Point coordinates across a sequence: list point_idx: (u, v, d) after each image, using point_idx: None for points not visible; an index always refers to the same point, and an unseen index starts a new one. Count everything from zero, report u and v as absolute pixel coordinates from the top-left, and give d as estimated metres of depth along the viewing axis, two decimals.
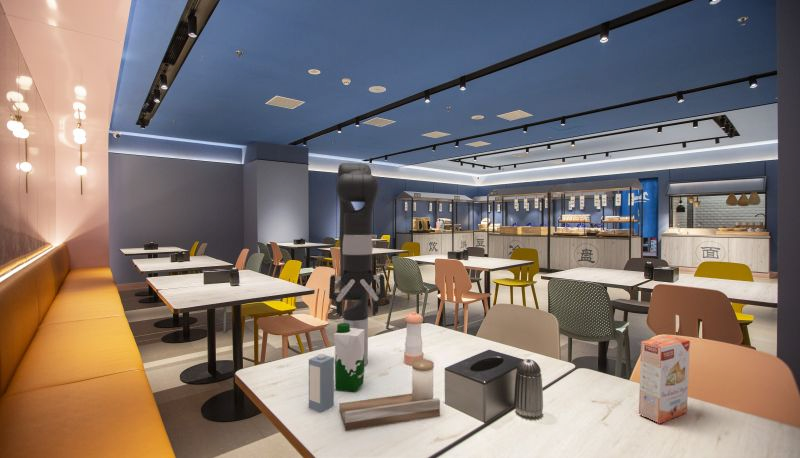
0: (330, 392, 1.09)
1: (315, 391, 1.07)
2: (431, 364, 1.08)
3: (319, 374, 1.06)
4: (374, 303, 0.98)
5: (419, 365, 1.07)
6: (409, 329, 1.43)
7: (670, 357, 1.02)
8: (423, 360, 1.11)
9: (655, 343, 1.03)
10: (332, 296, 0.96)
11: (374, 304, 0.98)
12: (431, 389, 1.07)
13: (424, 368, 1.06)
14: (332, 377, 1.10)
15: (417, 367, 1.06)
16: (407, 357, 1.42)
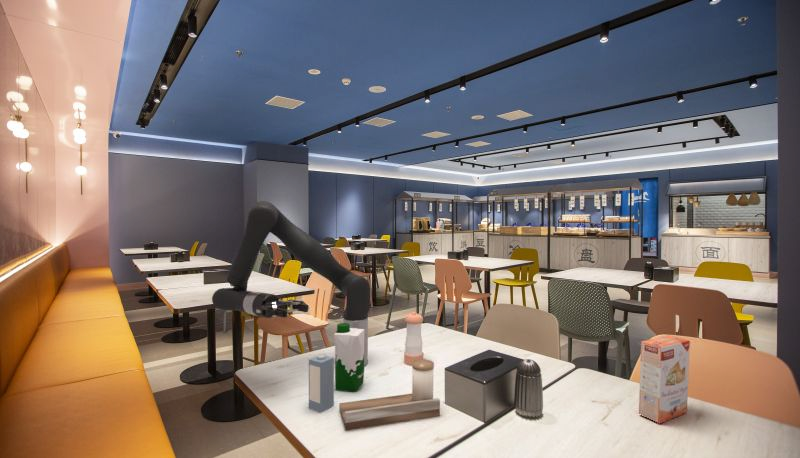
0: (330, 392, 1.09)
1: (315, 391, 1.07)
2: (431, 364, 1.08)
3: (319, 374, 1.06)
4: None
5: (419, 365, 1.07)
6: (409, 329, 1.43)
7: (670, 357, 1.02)
8: (423, 360, 1.11)
9: (655, 343, 1.03)
10: None
11: None
12: (431, 389, 1.07)
13: (424, 368, 1.06)
14: (332, 377, 1.10)
15: (417, 367, 1.06)
16: (407, 357, 1.42)
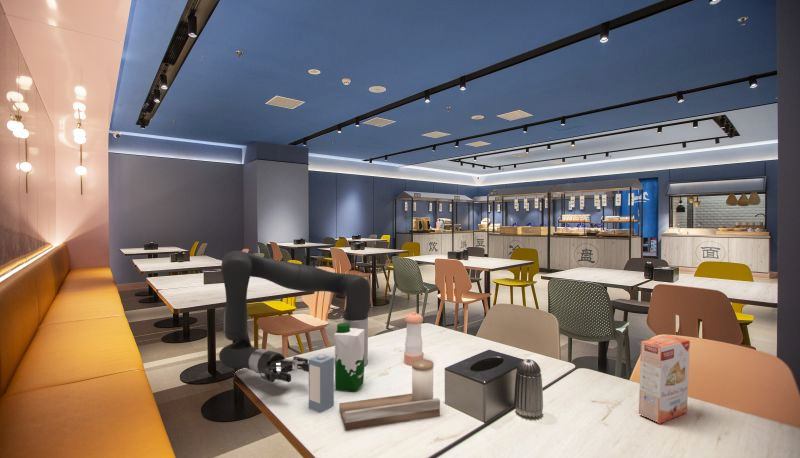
0: (330, 392, 1.09)
1: (315, 391, 1.07)
2: (431, 364, 1.08)
3: (319, 374, 1.06)
4: None
5: (419, 365, 1.07)
6: (409, 329, 1.43)
7: (670, 357, 1.02)
8: (423, 360, 1.11)
9: (655, 343, 1.03)
10: None
11: None
12: (431, 389, 1.07)
13: (424, 368, 1.06)
14: (332, 377, 1.10)
15: (417, 367, 1.06)
16: (407, 357, 1.42)
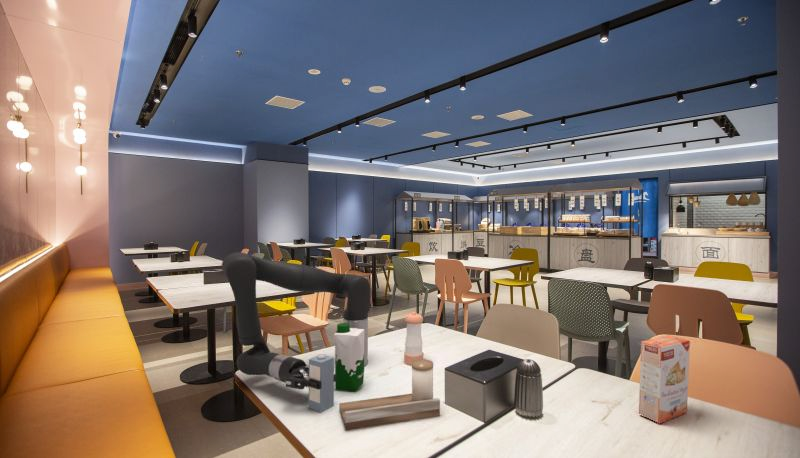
0: (330, 392, 1.09)
1: (315, 391, 1.07)
2: (431, 364, 1.08)
3: (319, 374, 1.06)
4: None
5: (419, 365, 1.07)
6: (409, 329, 1.43)
7: (670, 357, 1.02)
8: (422, 360, 1.11)
9: (655, 343, 1.03)
10: None
11: None
12: (431, 389, 1.07)
13: (424, 368, 1.06)
14: (332, 377, 1.10)
15: (417, 367, 1.06)
16: (407, 357, 1.42)
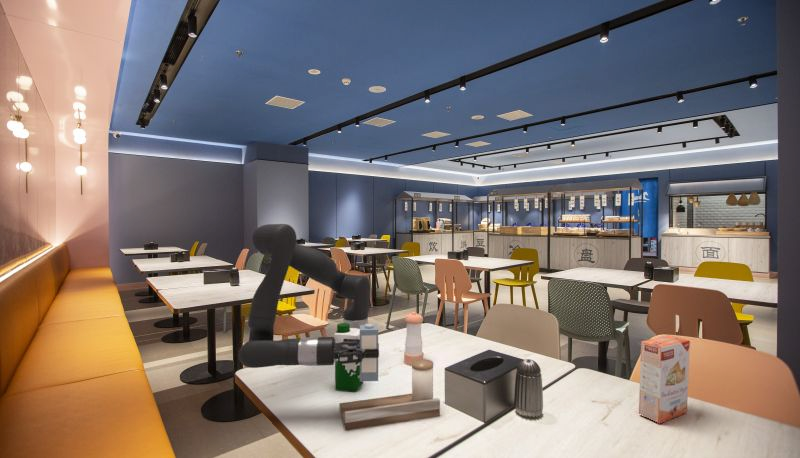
0: None
1: (370, 361, 1.03)
2: (431, 363, 1.08)
3: (375, 342, 1.03)
4: None
5: (419, 365, 1.07)
6: (409, 329, 1.43)
7: (670, 357, 1.02)
8: (422, 360, 1.11)
9: (655, 343, 1.03)
10: None
11: None
12: (431, 388, 1.07)
13: (424, 367, 1.06)
14: None
15: (417, 367, 1.06)
16: (407, 357, 1.42)
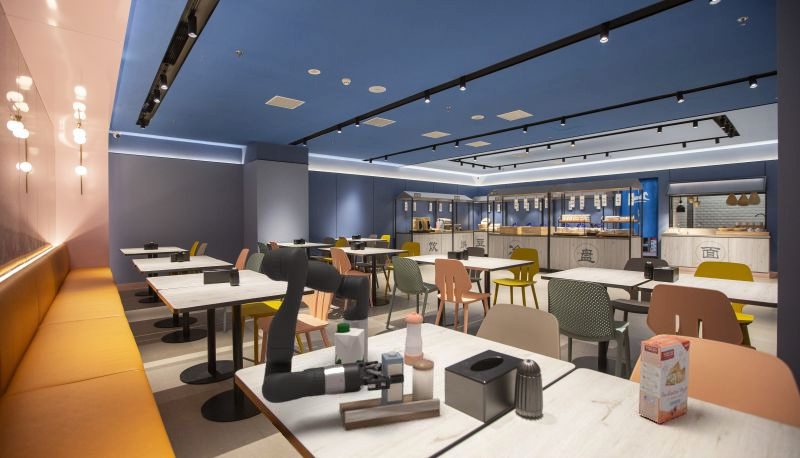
0: None
1: (396, 389, 1.04)
2: (431, 363, 1.08)
3: (401, 370, 1.04)
4: None
5: (420, 365, 1.07)
6: (409, 329, 1.43)
7: (670, 357, 1.02)
8: (423, 360, 1.11)
9: (655, 343, 1.03)
10: None
11: None
12: (431, 388, 1.07)
13: (425, 367, 1.06)
14: None
15: (418, 366, 1.06)
16: (407, 357, 1.42)
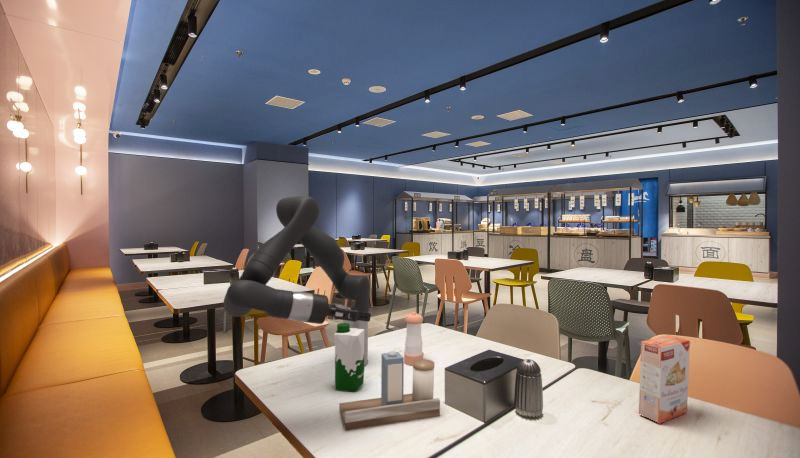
0: None
1: (396, 389, 1.04)
2: (432, 364, 1.08)
3: (401, 370, 1.04)
4: None
5: (420, 365, 1.07)
6: (409, 329, 1.43)
7: (670, 357, 1.02)
8: (423, 360, 1.11)
9: (655, 343, 1.03)
10: None
11: (359, 320, 1.01)
12: (432, 389, 1.07)
13: (426, 368, 1.06)
14: None
15: (419, 367, 1.06)
16: (407, 357, 1.42)
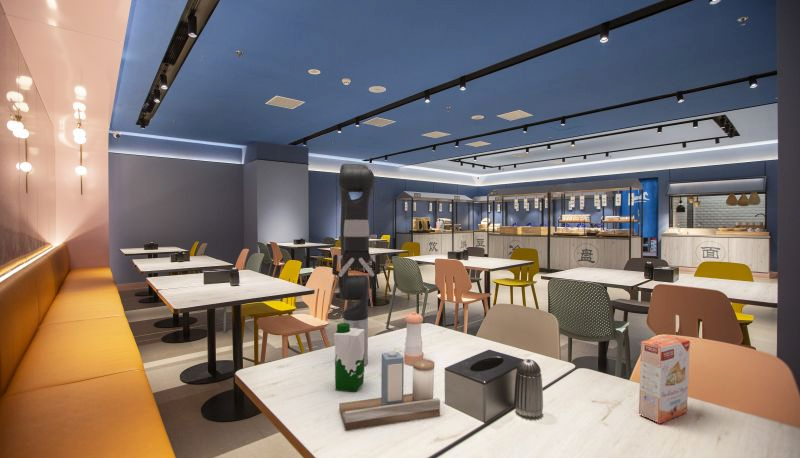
0: None
1: (396, 389, 1.04)
2: (432, 364, 1.08)
3: (401, 370, 1.04)
4: (370, 278, 1.14)
5: (421, 365, 1.07)
6: (409, 329, 1.43)
7: (670, 357, 1.02)
8: (423, 360, 1.11)
9: (655, 343, 1.03)
10: (335, 272, 1.13)
11: (370, 279, 1.14)
12: (432, 388, 1.07)
13: (426, 368, 1.06)
14: None
15: (419, 367, 1.06)
16: (407, 357, 1.42)
